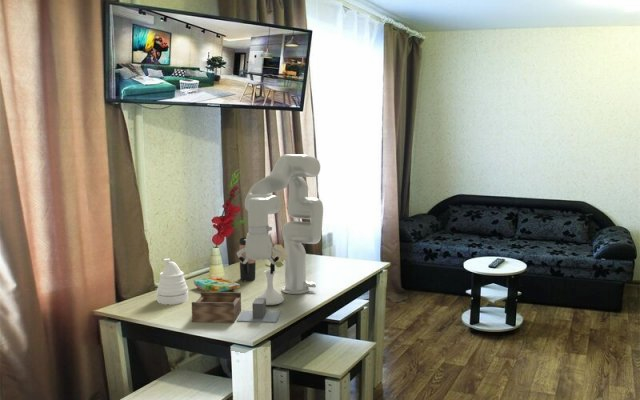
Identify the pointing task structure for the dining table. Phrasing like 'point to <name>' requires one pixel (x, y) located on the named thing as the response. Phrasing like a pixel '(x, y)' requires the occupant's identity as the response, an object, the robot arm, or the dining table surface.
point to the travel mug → (252, 264)
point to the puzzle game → (215, 284)
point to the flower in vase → (270, 292)
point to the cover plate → (266, 319)
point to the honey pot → (172, 285)
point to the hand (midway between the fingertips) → (259, 273)
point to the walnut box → (217, 307)
